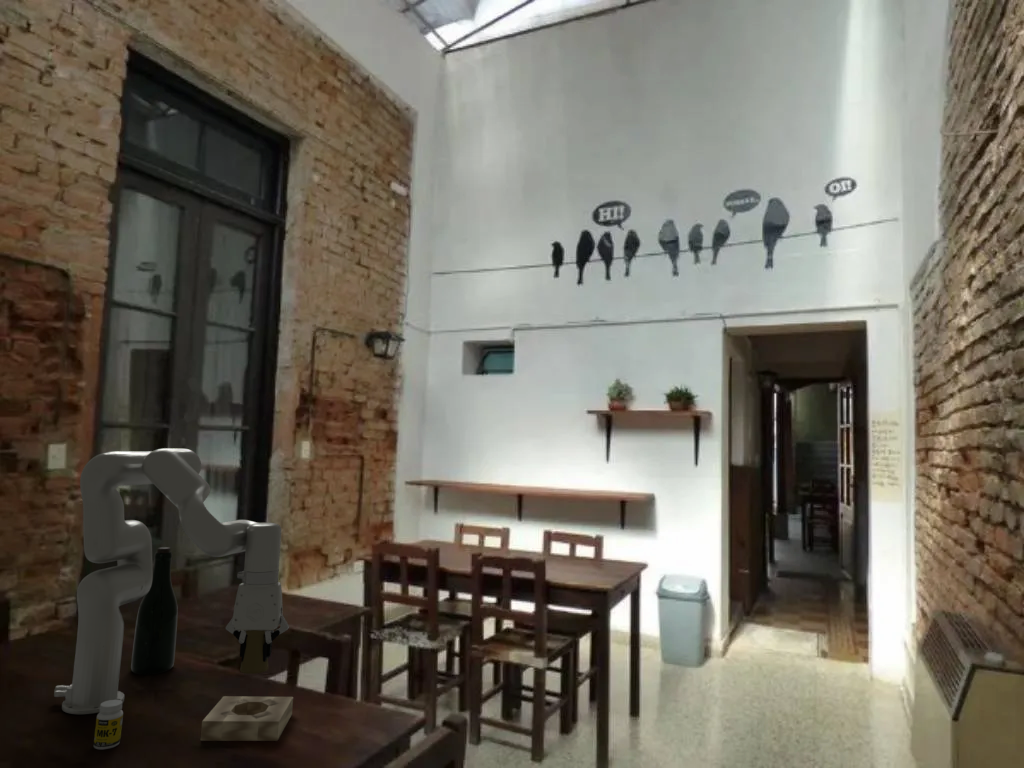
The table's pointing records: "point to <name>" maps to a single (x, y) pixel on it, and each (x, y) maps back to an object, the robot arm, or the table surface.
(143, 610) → the wine bottle
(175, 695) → the table surface
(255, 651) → the cork
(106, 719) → the supplement bottle
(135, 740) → the table surface
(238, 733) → the jig
